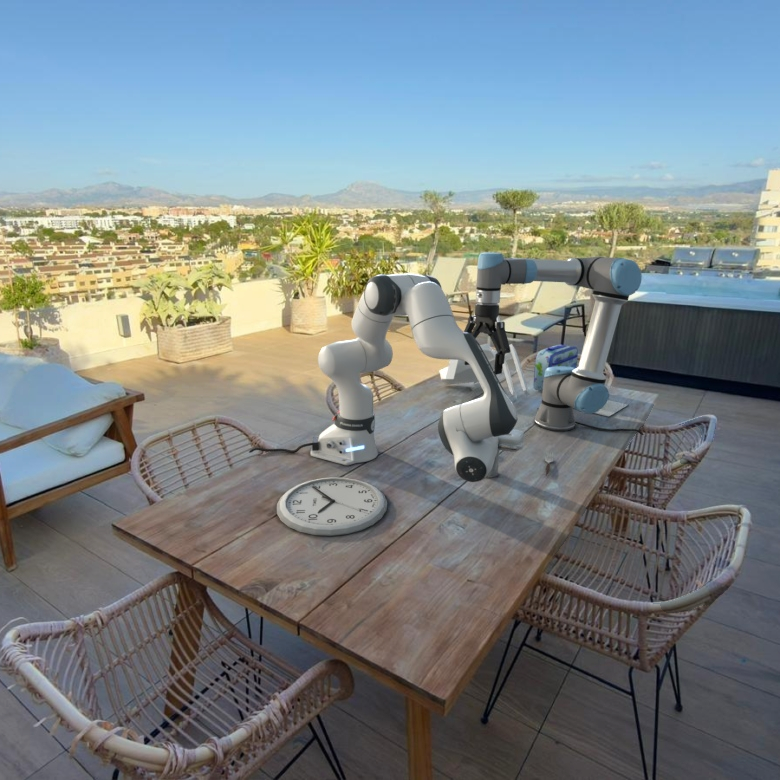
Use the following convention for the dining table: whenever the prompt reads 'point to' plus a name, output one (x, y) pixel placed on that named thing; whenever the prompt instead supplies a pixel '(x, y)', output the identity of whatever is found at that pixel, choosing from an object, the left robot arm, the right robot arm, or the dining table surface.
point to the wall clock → (331, 506)
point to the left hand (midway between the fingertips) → (488, 426)
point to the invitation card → (611, 408)
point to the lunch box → (553, 361)
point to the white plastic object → (465, 373)
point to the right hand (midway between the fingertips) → (482, 369)
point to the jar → (494, 467)
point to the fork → (548, 462)
